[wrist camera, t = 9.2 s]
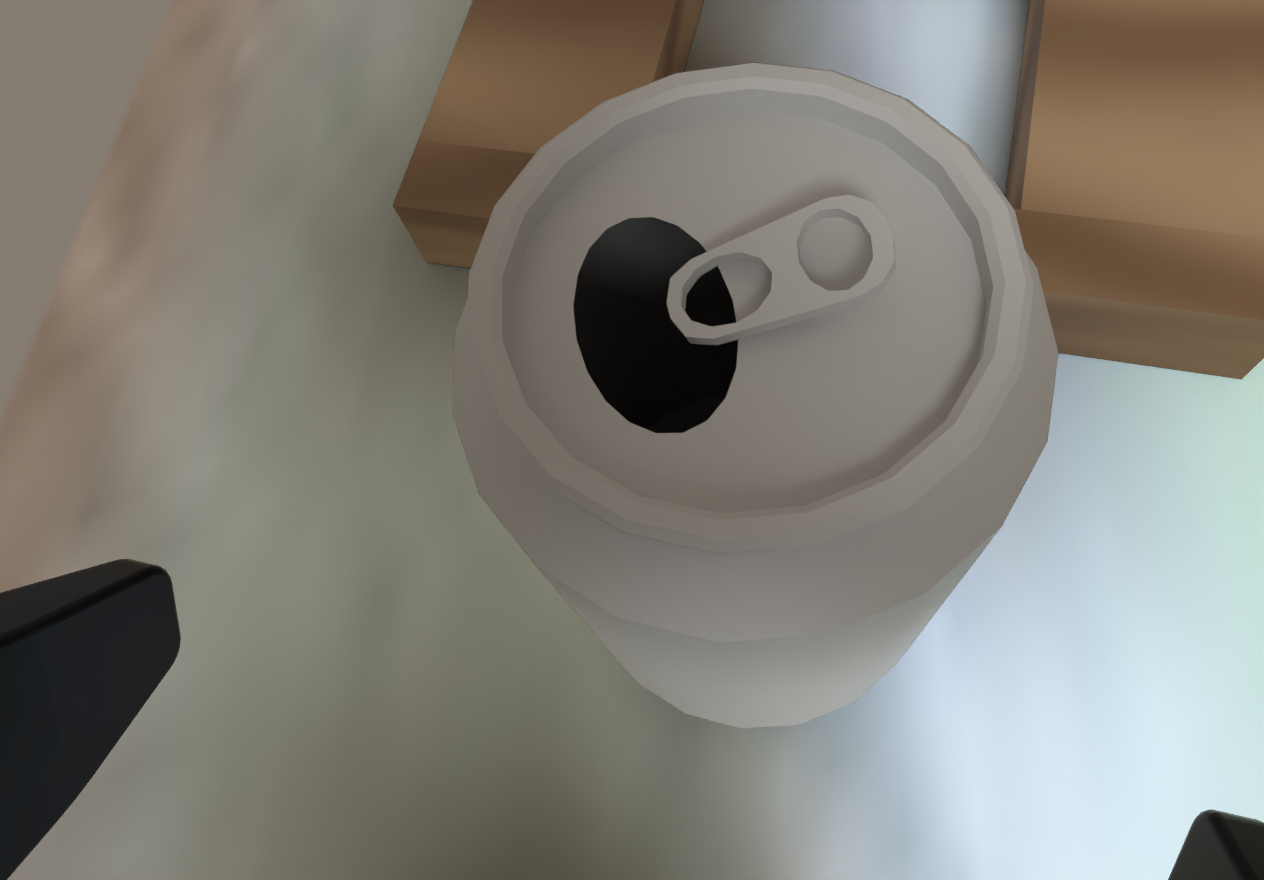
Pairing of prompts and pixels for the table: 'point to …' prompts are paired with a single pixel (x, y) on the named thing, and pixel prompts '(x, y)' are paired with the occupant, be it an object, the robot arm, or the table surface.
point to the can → (754, 380)
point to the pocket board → (1038, 168)
